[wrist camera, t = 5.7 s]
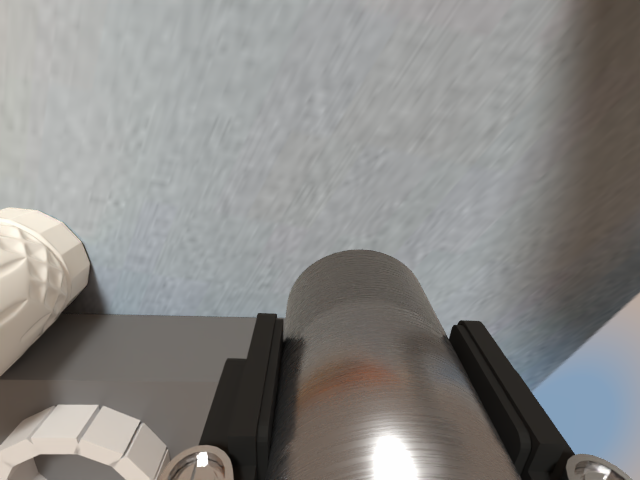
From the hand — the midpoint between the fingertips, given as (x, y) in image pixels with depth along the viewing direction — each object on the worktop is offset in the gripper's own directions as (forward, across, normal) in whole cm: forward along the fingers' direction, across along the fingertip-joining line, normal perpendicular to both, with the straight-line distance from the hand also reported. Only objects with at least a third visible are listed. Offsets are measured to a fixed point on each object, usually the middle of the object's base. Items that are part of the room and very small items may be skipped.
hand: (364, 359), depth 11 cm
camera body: (+12, +12, +13) cm, 21 cm away
